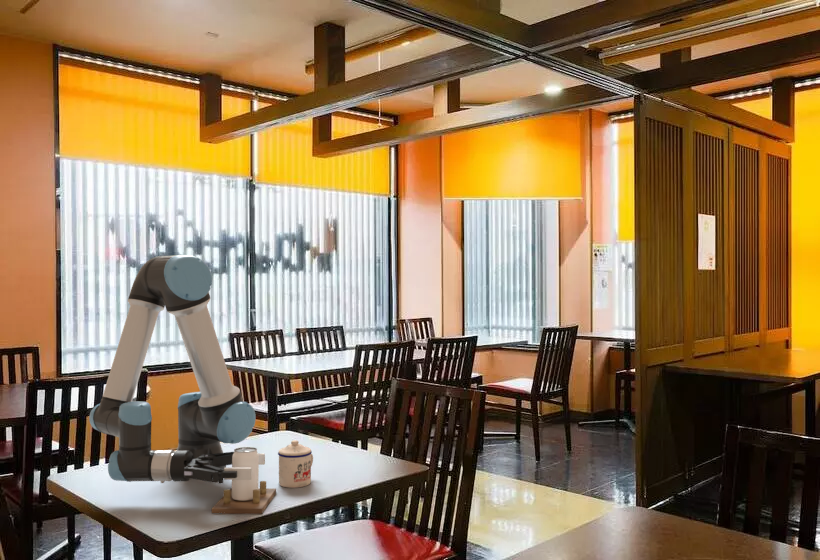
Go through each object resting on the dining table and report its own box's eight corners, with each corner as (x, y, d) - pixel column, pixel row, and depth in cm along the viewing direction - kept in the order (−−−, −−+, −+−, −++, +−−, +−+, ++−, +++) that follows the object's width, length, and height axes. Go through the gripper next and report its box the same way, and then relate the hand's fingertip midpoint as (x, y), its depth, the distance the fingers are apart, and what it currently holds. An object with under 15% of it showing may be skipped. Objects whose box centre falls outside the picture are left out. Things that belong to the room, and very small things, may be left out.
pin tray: (230, 492, 182) (230, 476, 182) (276, 493, 181) (276, 477, 181) (211, 513, 166) (211, 495, 166) (261, 513, 165) (261, 496, 165)
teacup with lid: (297, 490, 184) (297, 446, 184) (271, 485, 188) (270, 442, 188) (324, 479, 194) (324, 437, 194) (299, 474, 199) (299, 433, 199)
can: (234, 502, 169) (235, 453, 169) (228, 496, 175) (229, 448, 175) (261, 499, 172) (261, 450, 172) (254, 492, 178) (255, 445, 178)
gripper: (190, 467, 186) (269, 467, 186) (154, 496, 161) (245, 496, 161) (190, 439, 186) (269, 439, 186) (154, 464, 161) (245, 464, 161)
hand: (258, 466), depth 174 cm, fingers open, 13 cm apart
